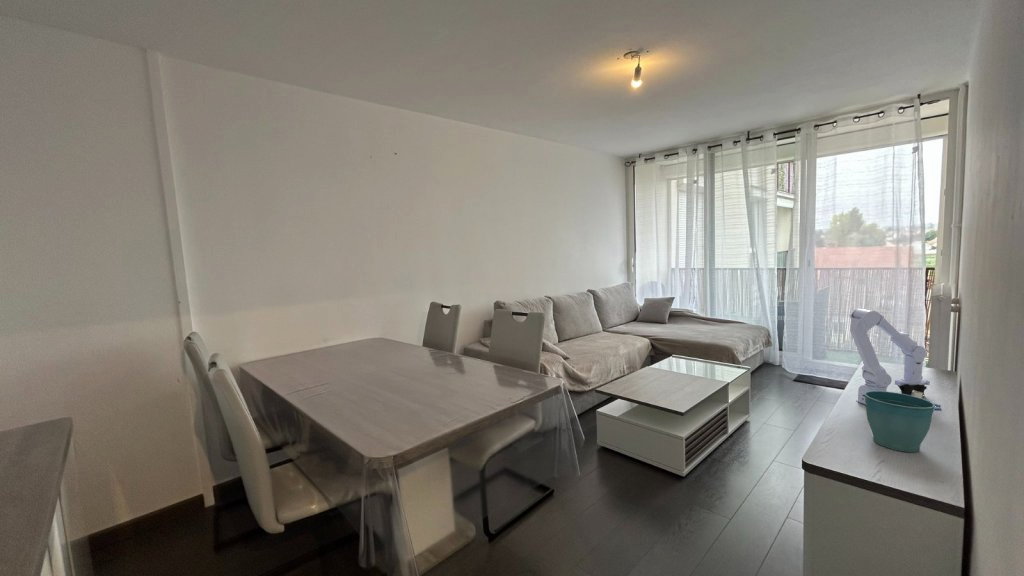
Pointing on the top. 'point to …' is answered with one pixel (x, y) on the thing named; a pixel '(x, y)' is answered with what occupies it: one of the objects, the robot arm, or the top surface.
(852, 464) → the top surface
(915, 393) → the cream rectangular block
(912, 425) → the flower pot
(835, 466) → the top surface
